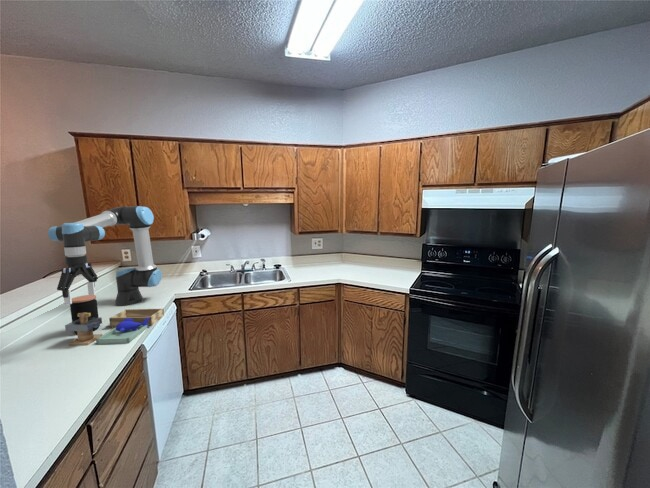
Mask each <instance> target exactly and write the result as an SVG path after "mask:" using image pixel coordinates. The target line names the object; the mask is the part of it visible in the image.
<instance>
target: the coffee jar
mask: <svg viewBox="0 0 650 488" xmlns="http://www.w3.org/2000/svg"><path fill="white" fill-rule="evenodd" d="M71 298H72V304H69V305H70V307H69V308H70V315H71V322H73V321H75V320H77V319H80V318H79V317H78V315H77V314H78V313H83V312H87V313H91V316H89V317H87V318H97V317H99V309H98V301H97V295H96V294H95V295H89V294H84V295H80V296H75V297H71ZM99 328H100V326H99V327H97V328H93V332H95V331H97V330H98V329H99ZM72 332H73V333H74V334H76V335H77V331H72Z"/></svg>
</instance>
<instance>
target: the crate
mask: <svg viewBox="0 0 650 488" xmlns="http://www.w3.org/2000/svg"><path fill="white" fill-rule="evenodd" d="M164 310H165V309H164V308H137V309H136V308H135V309H134V308H133V309H132V308H131V309H130V308H129V309H125V308H124V310H121V311H120V312H118V313H117V314H114V315H113V316H110V317H109V328H110V329H114V328H116V326H117V325H118V324H119V323H120V322H123V321H124V320H125V319H133V322H137V323H143V321H144V320H145V319H146V318H149V317H150V318H149V320H148V322H147V325H148V326H149V327H153V325H155V324H156V323H158V321H160V320H161V319H162V318H164V316H165V311H164Z"/></svg>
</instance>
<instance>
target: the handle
mask: <svg viewBox="0 0 650 488" xmlns="http://www.w3.org/2000/svg"><path fill="white" fill-rule="evenodd" d="M77 315H78V317H79V318H80V324H83V323H85V322H87V321H88V319H87V317H89V316H91V313H87V312H83V313H78V314H77ZM76 335H77V338H76V339H74V340H72V341H70V342H69V343H68V346H89V345H90V344H92V343H94V342H95V341H96V339H97V338H99V337H101V336H102V335H103V334H102V333H101V334H99V333H98V334H94V331H93V328H92V329H90V330H88V331H77V334H76Z"/></svg>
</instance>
